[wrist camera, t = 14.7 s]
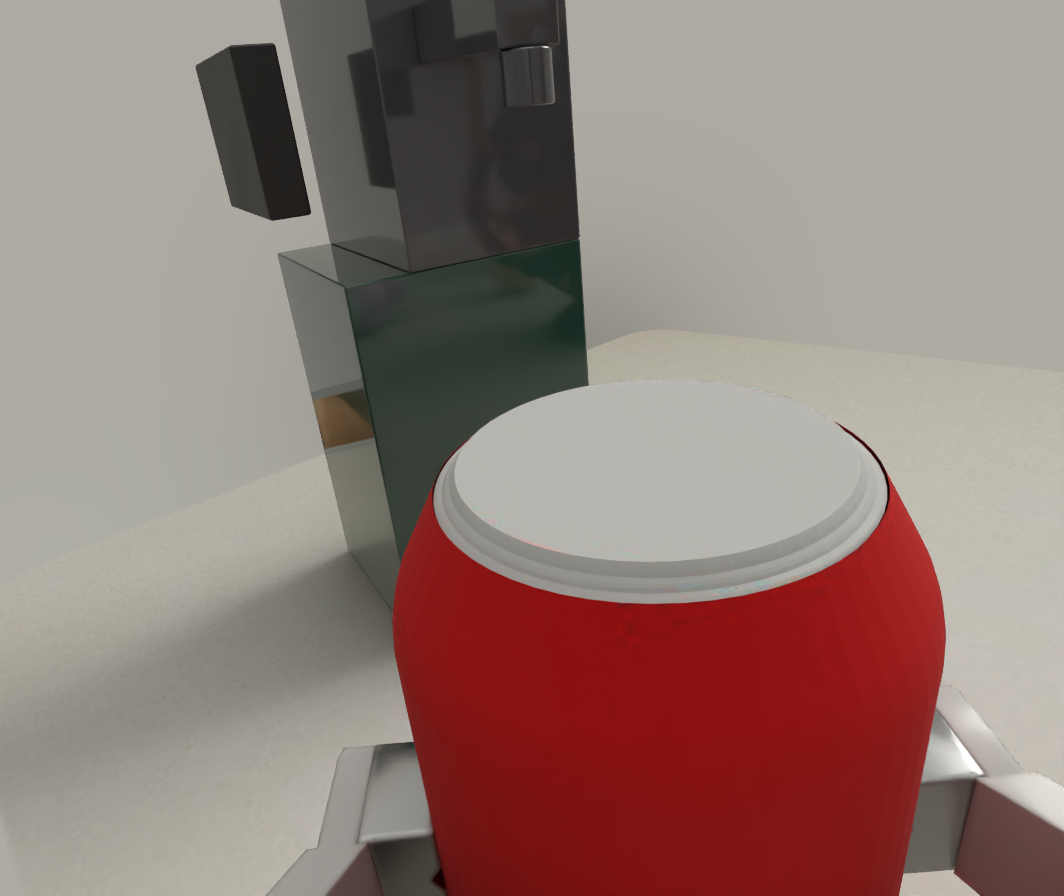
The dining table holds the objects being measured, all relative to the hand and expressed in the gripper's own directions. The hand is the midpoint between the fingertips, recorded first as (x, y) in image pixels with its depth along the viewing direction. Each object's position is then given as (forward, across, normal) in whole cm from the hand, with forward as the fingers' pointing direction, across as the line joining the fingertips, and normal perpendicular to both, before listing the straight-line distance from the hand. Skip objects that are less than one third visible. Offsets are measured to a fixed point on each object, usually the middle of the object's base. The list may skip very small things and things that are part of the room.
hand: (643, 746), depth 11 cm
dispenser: (+16, +3, +8) cm, 18 cm away
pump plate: (+17, +9, -6) cm, 20 cm away
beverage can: (-1, 0, +7) cm, 7 cm away
